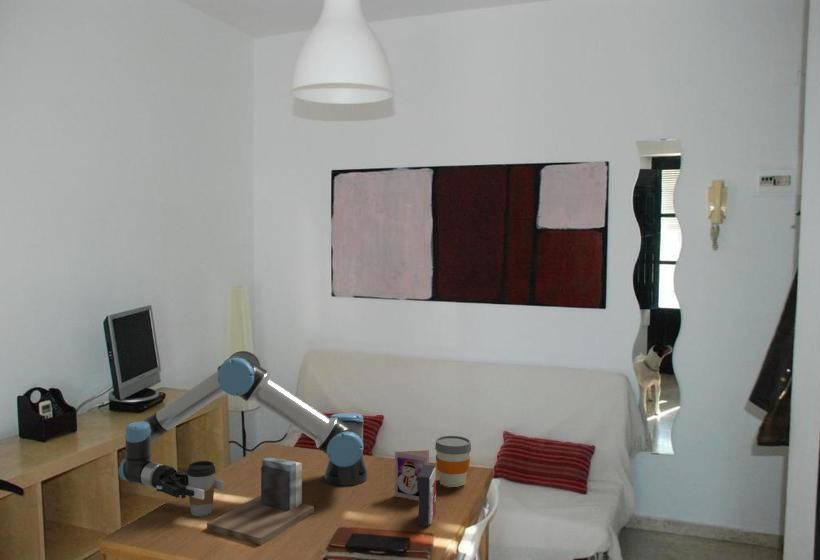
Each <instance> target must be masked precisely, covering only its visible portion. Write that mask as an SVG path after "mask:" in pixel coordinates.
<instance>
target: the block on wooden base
mask: <svg viewBox="0 0 820 560" xmlns="http://www.w3.org/2000/svg"><path fill="white" fill-rule="evenodd" d="M261 461H262V463H261V465H262V466H261V467H260V473H261V474H260V495H259V496H257V497H255V498H253V499H251V500H249V501H247V502H245V503H242V504H240V505H239V506H237V507H235V508H233V509H231V510H230V511H228V512H226V513H225V512H224V514H221V515H220V516H218V517H216V518H214V519H212V520H210V521H208V522H206V530H207V531H210V532H213V533H216V534H220V535H224V536H227V537H231V538H234V539H237V540H241V541H244V542H248V543H250V544H255V545H258V546H263V545H264V544H266V543H268V542H269V541H271V540H272V539H274V538H276V537H277V536H279V535H280V534H282V533H283V532H286V531H287V530H288V529H291V528H292V527H293V526H295V525H297V524H298V523H299V522H301V521H303V520H304V518H305V519H307V518H308V517H310V516H311V515H312V513H313V512H314V513H315V506H314V505H310V504H306V503H303V462H298V461H293V460H289V459H285V458H280V457H275V458H274V457H269V456H266V457H264V458H262V459H261ZM314 513H313V514H314ZM310 514H311V515H310ZM307 516H308V517H307ZM291 526H292V527H291Z"/></svg>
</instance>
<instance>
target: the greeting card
mask: <svg viewBox="0 0 820 560" xmlns="http://www.w3.org/2000/svg"><path fill="white" fill-rule="evenodd" d="M429 459H430V450H426V449H425V450H404V451H403V450H401V451H399V450H398V451H394V489H393V490H394V493H393V494H394V495H393V496H394V497H399V498H403V499H407V498H408V500H412V499H414V500H413V501H417V500H419V491H418V489H417V477H418V475H419V473H420V471H421V469H422V467H423V465H430V461H429Z"/></svg>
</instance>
